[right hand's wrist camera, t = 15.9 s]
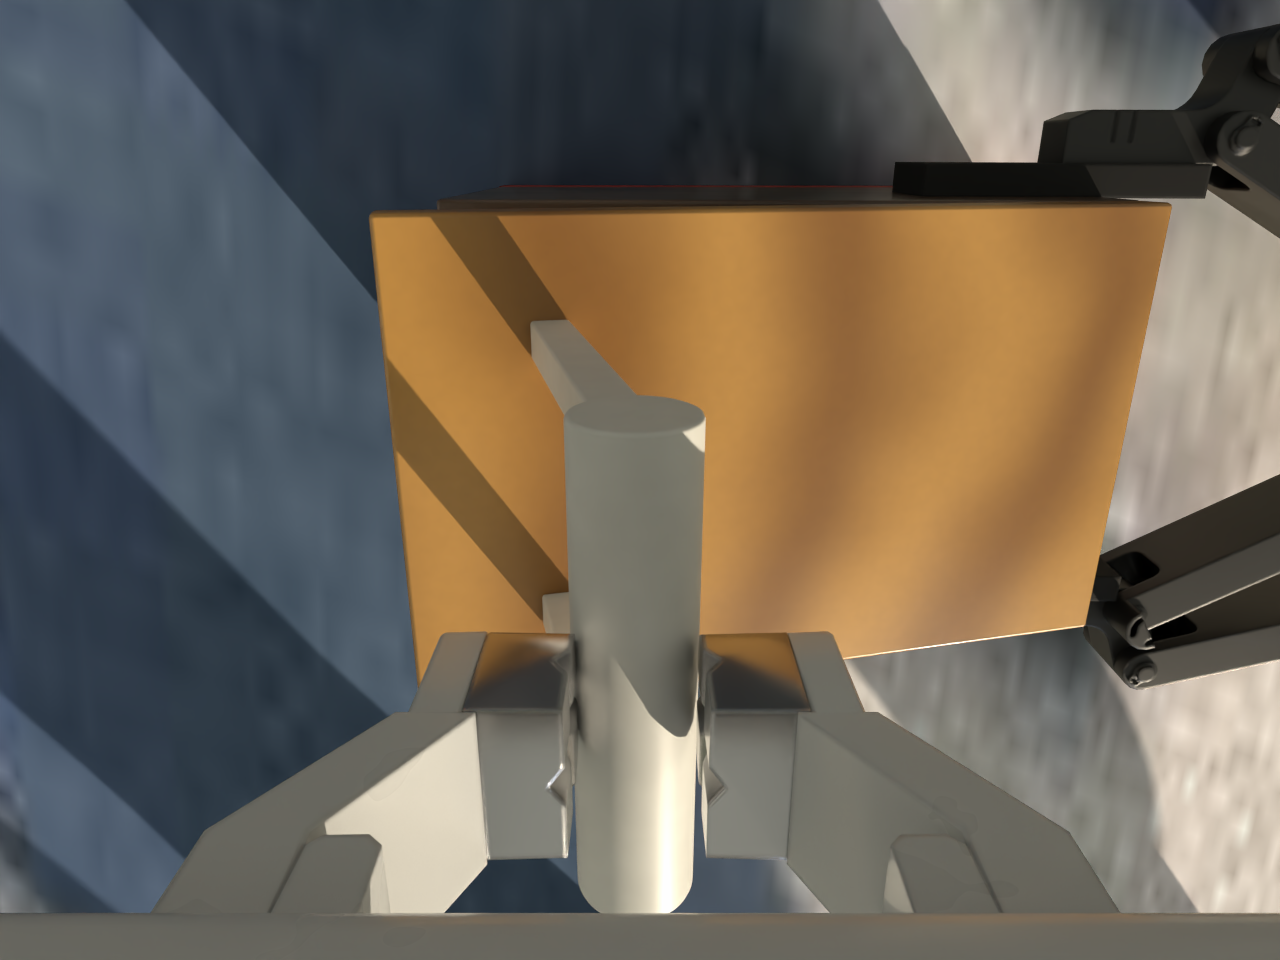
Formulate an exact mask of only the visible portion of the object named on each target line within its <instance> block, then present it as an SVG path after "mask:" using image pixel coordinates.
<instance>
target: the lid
mask: <svg viewBox="0 0 1280 960" xmlns="http://www.w3.org/2000/svg"><path fill="white" fill-rule="evenodd" d="M1171 208H1172V206H1171V204H1169V203H1165V202H1149V201H1095V202H1013V203H931V204H849V205H768V206H686V207H604V208H522V209H441V210H375V211H373V212H372V213H371V214H370V217H369V224H370V234H371V243H372V253H373V263H374V272H375V282H376V291H377V301H378V310H379V320H380V329H381V339H382V349H383V358H384V368H385V377H386V387H387V396H388V406H389V415H390V425H391V435H392V444H393V454H394V463H395V473H396V482H397V492H398V501H399V511H400V521H401V530H402V540H403V549H404V559H405V568H406V578H407V587H408V597H409V606H410V616H411V626H412V635H413V645H414V654H415V664H416V673H417V683H418V688H419V686H420V683H421V681H422V678H423V676H424V674H425V671H426V669H427V667H428V664H429V662H430V659H431V657H432V655H433V652H434V650H435V648H436V645H437V643H438V641H439V638H440V636H441V635H442V634H444V633H446V632H478V631H486V632H487V633H488V634H489V633H490V632H509V633H561V634H575V640H576V661H577V673H576V682H575V691H574V697H575V698H576V700H577V702H578V760H577V774H576V784H575V805H576V836H577V868H578V883H579V887H580V890H581V892H582V894H583V896H584V897H585V899H586V900H587V901H588V903H589V904H590V905H591V906H592V907H593V908H595V909H596V910H597V911H598V912H600V913H670V912H671V911H673V910H674V909H676V908H677V907H678V906H679V905H680V904H681V903H682V901H683V900H684V899H685V897H686V896H687V894H688V892H689V890H690V888H691V884H692V877H693V843H694V808H695V774H696V739H697V700H698V680H699V677H698V646H699V636H700V635H701V634H741V633H782V632H787V633H794V632H818V631H828V632H830V633H831V634H833V636H834V638H835V641H836V643H837V646H838V648H839V650H840V653H841V655H842V658H843V660H844V659H851V658H859V657H866V656H873V655H880V654H888V653H895V652H902V651H909V650H917V649H924V648H931V647H938V646H946V645H953V644H960V643H967V642H975V641H982V640H989V639H996V638H1004V637H1011V636H1018V635H1025V634H1033V633H1040V632H1047V631H1054V630H1062V629H1069V628H1076V627H1083V626H1084V625H1085V623H1086V618H1087V614H1088V609H1089V604H1090V599H1091V594H1092V589H1093V585H1094V580H1095V575H1096V570H1097V565H1098V561H1099V556H1100V551H1101V546H1102V541H1103V536H1104V532H1105V527H1106V522H1107V517H1108V512H1109V507H1110V503H1111V498H1112V493H1113V488H1114V483H1115V479H1116V474H1117V469H1118V464H1119V459H1120V454H1121V450H1122V445H1123V440H1124V435H1125V430H1126V425H1127V421H1128V416H1129V411H1130V406H1131V401H1132V397H1133V392H1134V387H1135V382H1136V377H1137V372H1138V368H1139V363H1140V358H1141V353H1142V348H1143V343H1144V339H1145V334H1146V329H1147V324H1148V319H1149V315H1150V310H1151V305H1152V300H1153V295H1154V290H1155V286H1156V281H1157V276H1158V271H1159V266H1160V261H1161V257H1162V252H1163V247H1164V242H1165V237H1166V233H1167V228H1168V223H1169V218H1170V213H1171Z"/></svg>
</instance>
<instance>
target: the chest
mask: <svg viewBox="0 0 1280 960" xmlns="http://www.w3.org/2000/svg"><path fill="white" fill-rule="evenodd" d="M892 189H893V186H713V185H504V186H500V187H498V188H493V189H488V190H483V191H478V192H473V193H468V194H463V195H458V196H453V197H448V198H444V199H440V200H438V201H437V210H441V209H522V208H604V207H686V206H768V205H849V204H931V203H1013V202H1095V201H1138V200H1128V199H1117V198H1107V197H922V196H915V195H908V194H902V193H895V192H892Z"/></svg>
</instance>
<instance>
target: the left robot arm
mask: <svg viewBox="0 0 1280 960" xmlns="http://www.w3.org/2000/svg"><path fill="white" fill-rule="evenodd" d="M1202 71H1203V76H1204V77H1203V79H1202V81H1201V83H1200V84H1199V86H1198V88H1197V90H1196V91H1195V93H1194V94H1193V96H1192V97H1191V98H1190V99H1189V100H1188V101H1187V102H1186V103H1185V104H1184V105H1182V106H1181V107H1179V108H1178V109H1175V110H1086V111H1077V112H1067V113H1064V114H1061V115H1059V116H1056V117H1054V118H1051V119H1049V120H1046V121H1044V124H1043V130H1042V137H1041V143H1040V150H1039V156H1038V163H996V162H895V169H894V179H893V189H892V192H895V193H902V194H908V195H915V196H922V197H1107V198H1205V196H1206V191H1207V189H1208V190H1209V191H1211V192H1212V193H1214V194H1215V195H1217V196H1218V197H1220V198H1221V199H1222V200H1224V201H1225V202H1227V203H1228V204H1230V205H1231V206H1233V207H1234V208H1236V209H1237V210H1239V211H1240V212H1242V213H1243V214H1245V215H1246V216H1248V217H1249V218H1250V219H1252V220H1253V221H1255V222H1256V223H1258V224H1259V225H1261V226H1262V227H1264V228H1265V229H1267V230H1268V231H1270V232H1271V233H1273V234H1274V235H1276V236H1277V237H1279V238H1280V125H1279V124H1278V123H1276V122H1275V121H1273V120H1272V119H1271V116H1272V115H1273V113H1274V111H1275V109H1276V108H1280V24H1277V25H1272V26H1267V27H1262V28H1258V29H1253V30H1248V31H1243V32H1239V33H1234V34H1230V35H1227V36H1224V37H1221V38H1219V39H1218V40H1216V41H1215V42H1214V43H1213V44H1211V46H1210V47H1209V49H1208V50H1207V52H1206V53H1205V55H1204V59H1203V63H1202ZM1083 634H1084V636H1085V639H1086V640H1087V641H1088V642H1089V644H1090V645H1091V646H1092V647H1093V648H1094V649H1095V650H1096V651H1097V652H1098V654H1099V655H1100V656H1101V657H1102V658H1103V659H1104V660H1105V661H1106V663H1107V664H1108V665H1109V666H1110V667H1111V668H1112V669H1113V670H1114V671H1115V673H1116V674H1117V675H1118V676H1119V677H1120V678H1121V679H1122V680H1123V682H1124V683H1125V684H1127V685H1128V686H1129V687H1130V688H1133V689H1136V690H1142V689H1149V688H1154V687H1159V686H1163V685H1168V684H1173V683H1177V682H1182V681H1187V680H1191V679H1196V678H1201V677H1205V676H1210V675H1215V674H1220V673H1224V672H1229V671H1234V670H1238V669H1243V668H1248V667H1252V666H1257V665H1262V664H1266V663H1271V662H1276V661H1280V474H1279V475H1277V476H1275V477H1273V478H1270V479H1268V480H1266V481H1264V482H1262V483H1259V484H1257V485H1255V486H1253V487H1250V488H1248V489H1246V490H1244V491H1242V492H1239V493H1237V494H1235V495H1233V496H1230V497H1228V498H1226V499H1224V500H1222V501H1219V502H1217V503H1215V504H1213V505H1210V506H1208V507H1206V508H1204V509H1202V510H1199V511H1197V512H1195V513H1193V514H1190V515H1188V516H1186V517H1184V518H1182V519H1179V520H1177V521H1175V522H1173V523H1171V524H1168V525H1166V526H1164V527H1162V528H1159V529H1157V530H1155V531H1153V532H1151V533H1148V534H1146V535H1144V536H1142V537H1139V538H1137V539H1135V540H1133V541H1131V542H1128V543H1126V544H1124V545H1122V546H1119V547H1117V548H1115V549H1113V550H1111V551H1108V552H1106V553H1104V554H1102V555H1100V556H1099V561H1098V565H1097V570H1096V575H1095V580H1094V585H1093V589H1092V594H1091V599H1090V604H1089V609H1088V614H1087V618H1086V623H1085V625H1084V631H1083Z"/></svg>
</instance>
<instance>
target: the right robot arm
mask: <svg viewBox="0 0 1280 960" xmlns="http://www.w3.org/2000/svg"><path fill="white" fill-rule="evenodd" d="M576 673H577V661H576V640H575V634H561V633H509V632H490V633H489V634H488V633H487V632H486V631H478V632H446V633H444V634H442V635H441V636H440V638H439V641H438V643H437V645H436V648H435V650H434V652H433V655H432V657H431V659H430V662H429V664H428V667H427V669H426V671H425V674H424V676H423V678H422V681H421V683H420V686H419V688H418V690H417V693H416V695H415V697H414V700H413V702H412V705H411V707H410V709H409V712H395V713H393V714H392V715H390V716H389V717H387V718H385V719H384V720H382V721H381V722H379V723H377V724H376V725H374V726H372V727H371V728H369V729H368V730H366V731H364V732H363V733H361V734H360V735H358V736H356V737H355V738H353V739H351V740H350V741H348V742H347V743H345V744H343V745H342V746H340V747H339V748H337V749H335V750H334V751H332V752H330V753H329V754H327V755H326V756H324V757H322V758H321V759H319V760H318V761H316V762H314V763H313V764H311V765H309V766H308V767H306V768H305V769H303V770H301V771H300V772H298V773H297V774H295V775H293V776H292V777H290V778H288V779H287V780H285V781H284V782H282V783H280V784H279V785H277V786H276V787H274V788H272V789H271V790H269V791H267V792H266V793H264V794H263V795H261V796H259V797H258V798H256V799H255V800H253V801H251V802H250V803H248V804H246V805H245V806H243V807H242V808H240V809H238V810H237V811H235V812H234V813H232V814H230V815H229V816H227V817H225V818H224V819H222V820H221V821H219V822H217V823H216V824H214V825H213V826H211V827H209V828H208V829H206V830H204V832H203V833H202V835H201V836H200V838H199V839H198V841H197V842H196V844H195V846H194V847H193V849H192V850H191V852H190V853H189V855H188V856H187V858H186V859H185V861H184V862H183V864H182V865H181V867H180V869H179V870H178V872H177V873H176V875H175V876H174V878H173V879H172V881H171V882H170V884H169V885H168V887H167V888H166V890H165V891H164V893H163V895H162V896H161V898H160V899H159V901H158V902H157V904H156V905H155V907H154V908H153V910H152V911H151V913H0V960H1280V913H1120V912H1119V910H1118V908H1117V907H1116V905H1115V904H1114V902H1113V901H1112V899H1111V897H1110V896H1109V894H1108V893H1107V891H1106V890H1105V888H1104V886H1103V885H1102V883H1101V882H1100V880H1099V878H1098V877H1097V875H1096V874H1095V872H1094V871H1093V869H1092V867H1091V866H1090V864H1089V863H1088V861H1087V860H1086V858H1085V856H1084V855H1083V853H1082V852H1081V850H1080V849H1079V847H1078V845H1077V844H1076V842H1075V841H1074V839H1073V838H1072V836H1071V834H1070V833H1069V832H1068V831H1067V830H1065V829H1063V828H1062V827H1060V826H1059V825H1057V824H1055V823H1054V822H1052V821H1051V820H1049V819H1047V818H1046V817H1044V816H1043V815H1041V814H1039V813H1038V812H1036V811H1035V810H1033V809H1032V808H1030V807H1028V806H1027V805H1025V804H1024V803H1022V802H1020V801H1019V800H1017V799H1016V798H1014V797H1012V796H1011V795H1009V794H1008V793H1006V792H1004V791H1003V790H1001V789H1000V788H998V787H996V786H995V785H993V784H992V783H990V782H988V781H987V780H985V779H984V778H982V777H980V776H979V775H977V774H976V773H974V772H973V771H971V770H969V769H968V768H966V767H965V766H963V765H961V764H960V763H958V762H957V761H955V760H953V759H952V758H950V757H949V756H947V755H945V754H944V753H942V752H941V751H939V750H937V749H936V748H934V747H933V746H931V745H929V744H928V743H926V742H925V741H923V740H921V739H920V738H918V737H917V736H915V735H913V734H912V733H910V732H909V731H907V730H906V729H904V728H902V727H901V726H899V725H898V724H896V723H894V722H893V721H891V720H890V719H888V718H886V717H885V716H883V715H882V714H880V713H878V712H865V711H864V708H863V706H862V703H861V701H860V698H859V696H858V694H857V691H856V689H855V686H854V684H853V682H852V679H851V677H850V674H849V672H848V670H847V667H846V665H845V662H844V660H843V658H842V655H841V653H840V650H839V648H838V646H837V643H836V641H835V638H834V636H833V634H831V633H830V632H828V631H818V632H794V633H787V632H782V633H741V634H701V635H700V636H699V646H698V677H699V687H700V698H699V699H698V700H697V765H698V778H699V784H700V785H701V786H702V820H703V830H704V839H705V848H706V858H734V859H770V860H787V865H788V866H789V867H790V868H791V869H792V870H793V871H794V873H795V874H796V875H797V876H798V877H799V878H800V879H801V881H802V882H803V883H804V884H805V885H806V886H807V887H808V889H809V890H810V891H811V892H812V893H813V894H814V895H815V896H816V898H817V899H818V900H819V901H820V902H821V903H822V904H823V906H824V907H825V908H826V909H827V910H828V911H829V912H830V913H444V912H445V911H446V910H447V909H448V908H449V907H450V906H451V905H452V903H453V902H454V901H455V900H456V899H457V898H458V897H459V896H460V894H461V893H462V892H463V891H464V890H465V889H466V888H467V887H468V885H469V884H470V883H471V882H472V881H473V880H474V879H475V878H476V876H477V875H478V874H479V873H480V872H481V871H482V870H483V869H484V867H485V866H486V865H487V860H503V859H538V858H568V850H569V841H570V832H571V823H572V814H573V805H572V786H573V785H574V784H576V774H577V760H578V702H577V700H576V698H575V697H574V691H575V682H576Z"/></svg>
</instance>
